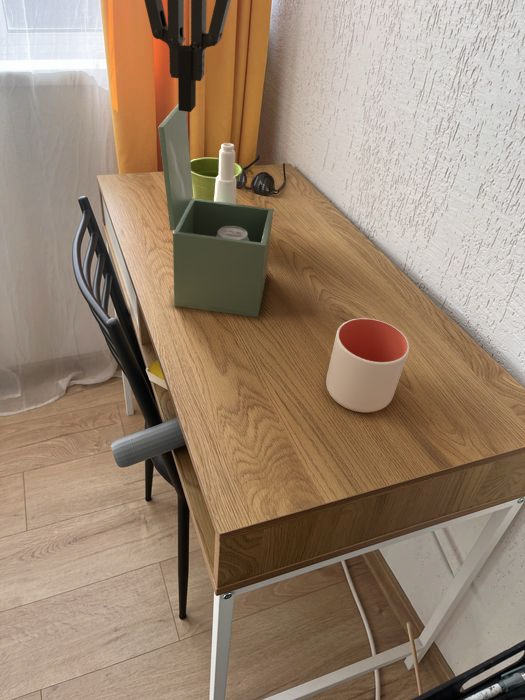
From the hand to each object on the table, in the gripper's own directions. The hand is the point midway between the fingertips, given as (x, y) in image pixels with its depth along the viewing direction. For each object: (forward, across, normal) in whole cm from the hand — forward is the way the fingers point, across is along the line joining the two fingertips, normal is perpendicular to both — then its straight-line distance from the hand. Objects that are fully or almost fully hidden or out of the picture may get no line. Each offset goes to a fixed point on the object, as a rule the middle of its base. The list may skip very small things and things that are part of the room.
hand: (187, 108), depth 64 cm
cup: (+34, +28, -9) cm, 45 cm away
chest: (+34, +4, +13) cm, 37 cm away
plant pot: (+34, -4, +42) cm, 54 cm away
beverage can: (+34, +5, +11) cm, 36 cm away
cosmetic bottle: (+34, +1, +25) cm, 42 cm away
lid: (+12, -4, +13) cm, 18 cm away
